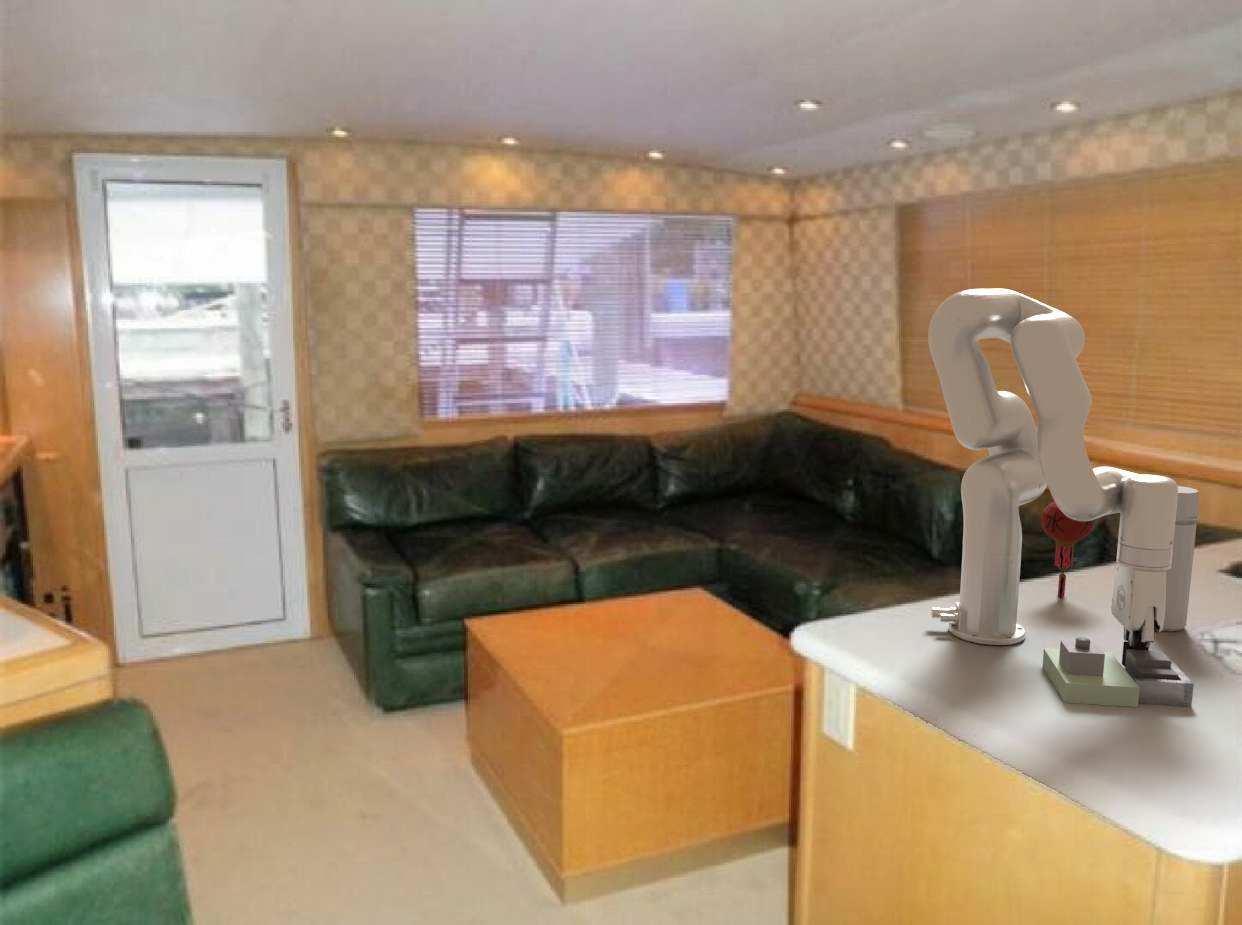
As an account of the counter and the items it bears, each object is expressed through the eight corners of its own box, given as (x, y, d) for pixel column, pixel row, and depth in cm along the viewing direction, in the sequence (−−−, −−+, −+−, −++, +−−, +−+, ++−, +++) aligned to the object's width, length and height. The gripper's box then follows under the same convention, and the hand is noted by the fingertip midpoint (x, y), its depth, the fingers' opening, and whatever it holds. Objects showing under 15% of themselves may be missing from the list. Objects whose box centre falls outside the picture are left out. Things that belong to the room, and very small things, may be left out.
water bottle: (1187, 636, 172) (1201, 495, 167) (1136, 628, 176) (1149, 490, 171) (1189, 620, 179) (1203, 486, 175) (1141, 613, 183) (1153, 481, 179)
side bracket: (1134, 702, 145) (1136, 680, 144) (1116, 679, 153) (1118, 658, 153) (1191, 706, 144) (1193, 683, 143) (1170, 683, 152) (1172, 661, 151)
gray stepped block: (1139, 698, 147) (1142, 666, 146) (1123, 679, 154) (1126, 649, 153) (1175, 700, 146) (1179, 668, 145) (1158, 681, 153) (1161, 650, 152)
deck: (1064, 702, 145) (1068, 652, 144) (1042, 666, 159) (1046, 620, 157) (1137, 707, 144) (1142, 656, 142) (1109, 670, 157) (1113, 623, 156)
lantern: (1097, 598, 192) (1110, 446, 187) (1068, 607, 187) (1080, 451, 182) (1054, 585, 200) (1065, 439, 194) (1024, 593, 195) (1035, 444, 190)
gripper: (1103, 541, 160) (1094, 649, 163) (1134, 567, 146) (1123, 685, 149) (1153, 543, 159) (1143, 651, 162) (1189, 570, 144) (1177, 688, 148)
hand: (1134, 667), depth 156 cm, fingers closed
